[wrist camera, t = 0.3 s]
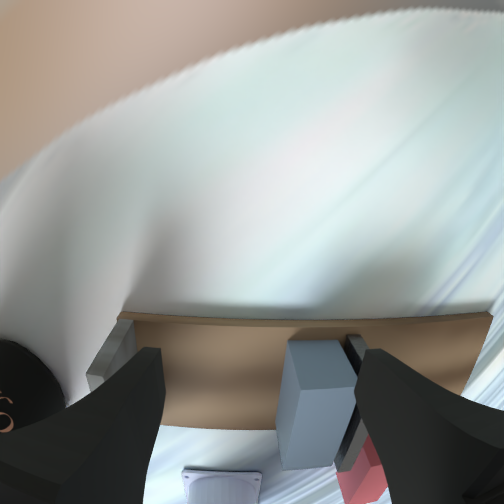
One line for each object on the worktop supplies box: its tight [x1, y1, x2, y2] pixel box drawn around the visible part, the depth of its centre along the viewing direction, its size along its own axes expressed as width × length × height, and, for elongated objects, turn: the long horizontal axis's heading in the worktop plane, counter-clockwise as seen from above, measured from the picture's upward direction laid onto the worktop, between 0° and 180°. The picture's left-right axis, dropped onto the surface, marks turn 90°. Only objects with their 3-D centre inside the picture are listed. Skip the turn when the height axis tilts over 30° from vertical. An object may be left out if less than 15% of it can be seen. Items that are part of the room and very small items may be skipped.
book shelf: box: [86, 312, 494, 430], centre depth 19 cm, size 10×30×7 cm, turn 87°
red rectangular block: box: [336, 434, 388, 504], centre depth 24 cm, size 8×4×5 cm, turn 177°
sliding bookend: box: [334, 334, 370, 473], centre depth 19 cm, size 9×1×5 cm, turn 177°
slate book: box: [275, 340, 358, 470], centre depth 19 cm, size 8×4×5 cm, turn 177°
